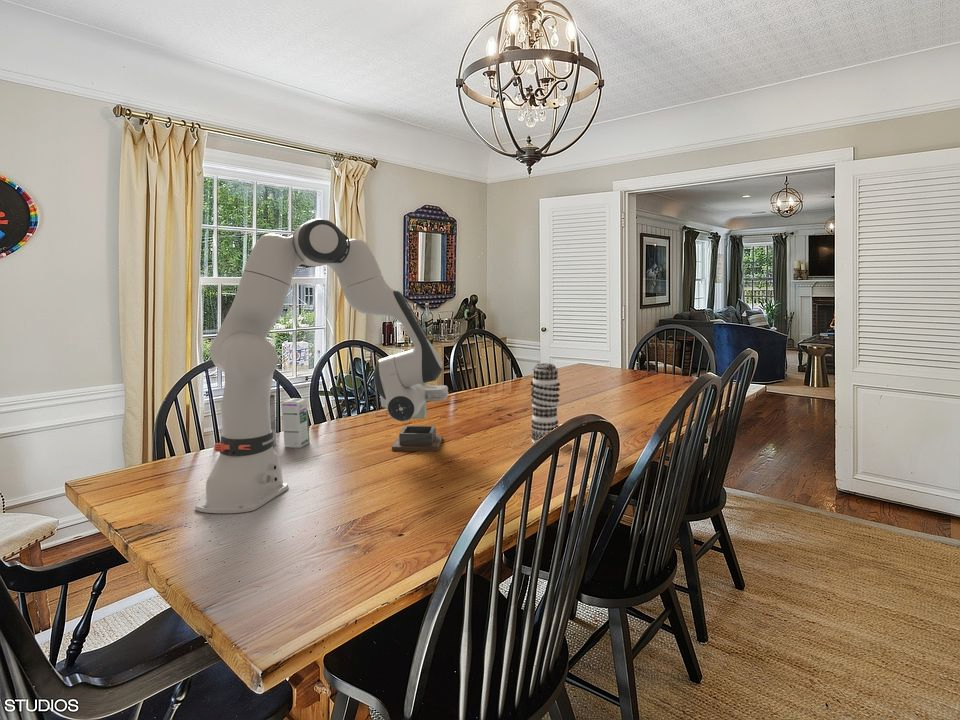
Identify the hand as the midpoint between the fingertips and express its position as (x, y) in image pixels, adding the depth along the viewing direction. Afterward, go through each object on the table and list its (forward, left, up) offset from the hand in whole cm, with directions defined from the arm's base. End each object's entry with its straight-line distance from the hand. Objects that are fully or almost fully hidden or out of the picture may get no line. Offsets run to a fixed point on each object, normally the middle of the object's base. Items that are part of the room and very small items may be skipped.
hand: (417, 387), depth 179 cm
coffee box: (-3, +50, -18) cm, 53 cm away
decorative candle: (+3, -40, -18) cm, 44 cm away
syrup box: (-3, +38, -18) cm, 42 cm away
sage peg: (-1, 0, -9) cm, 9 cm away
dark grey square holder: (-1, 0, -18) cm, 18 cm away
